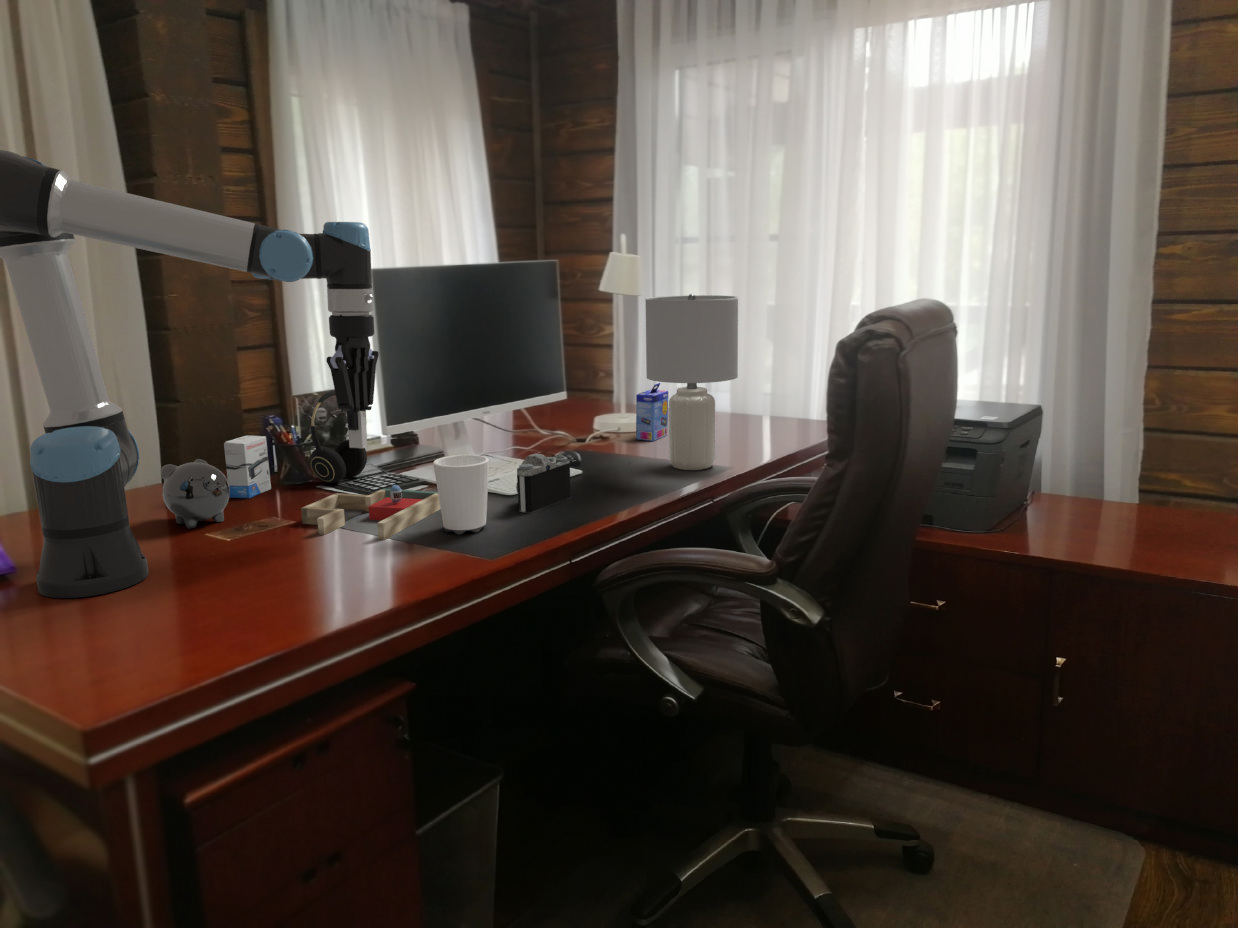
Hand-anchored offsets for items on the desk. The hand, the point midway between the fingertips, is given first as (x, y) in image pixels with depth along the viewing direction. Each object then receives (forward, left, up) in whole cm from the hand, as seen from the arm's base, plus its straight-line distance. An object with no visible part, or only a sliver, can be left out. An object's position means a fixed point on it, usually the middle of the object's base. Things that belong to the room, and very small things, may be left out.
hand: (358, 447), depth 169 cm
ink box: (+17, +39, -16) cm, 45 cm away
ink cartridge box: (+93, -28, -16) cm, 99 cm away
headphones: (+32, +27, -15) cm, 45 cm away
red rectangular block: (+9, -1, -16) cm, 18 cm away
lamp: (+62, -46, -15) cm, 79 cm away
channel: (+6, +3, -15) cm, 17 cm away
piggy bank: (-4, +34, -15) cm, 37 cm away
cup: (+4, -18, -15) cm, 24 cm away
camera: (+24, -24, -16) cm, 38 cm away
